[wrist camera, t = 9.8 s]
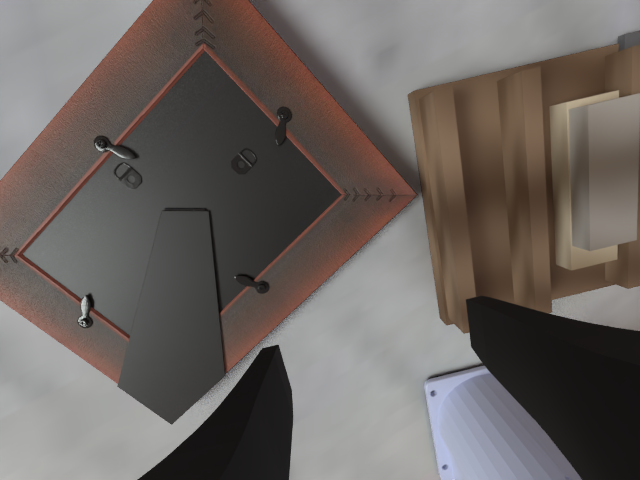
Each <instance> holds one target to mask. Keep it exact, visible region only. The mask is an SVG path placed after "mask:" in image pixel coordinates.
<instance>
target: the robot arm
mask: <svg viewBox="0 0 640 480" xmlns="http://www.w3.org/2000/svg"><path fill="white" fill-rule="evenodd" d="M466 306H467V315H468V323H469V331H470V340H471V347H472V348H473V350H474V351H475V353H476V354H477V356H478V357H479V359H480V360H481V361H482V363H483V364H484V365H485V366H480V367H476V368H472V369H468V370H464V371H460V372H456V373H452V374H448V375H444V376H440V377H435V378H431V379H428V380H427V381H426V382H425V383H424V388H425V394H426V400H427V406H428V412H429V418H430V424H431V430H432V436H433V442H434V448H435V453H436V459H437V465H438V471H439V475H440V477H441V479H442V480H454V479H455V480H640V331H634V330H627V329H621V328H614V327H609V326H603V325H598V324H592V323H587V322H582V321H578V320H573V319H569V318H565V317H561V316H556V315H552V314H549V313H545V312H541V311H537V310H534V309H530V308H527V307H523V306H520V305H516V304H513V303H509V302H506V301H502V300H499V299H495V298H491V297H486V296H478V297H474V298H469V299H466ZM433 390H435V391H434V392H432V393H430V392H431V391H433ZM292 428H293V403H292V390H291V386H290V383H289V379H288V376H287V372H286V369H285V366H284V362H283V359H282V355H281V352H280V349H279V345H275V346H271V347H267V348H262V350H261V351H260V352H259V354H258V355H257V357H256V358H255V359H254V361H253V362H252V364H251V365H250V367H249V368H248V369H247V371H246V372H245V374H244V375H243V376H242V378H241V379H240V380H239V382H238V383H237V384H236V386H235V387H234V388H233V389H232V391H231V392H230V393H229V394H228V396H227V397H226V398H225V399H224V401H223V402H222V403H221V404H220V405H219V407H218V408H217V409H216V410H215V411H214V412H213V413H212V414H211V415H210V417H209V418H208V419H207V420H206V421H205V422H204V423H203V424H202V425H201V426H200V427H199V428H198V429H197V430H196V431H195V432H194V433H193V434H192V435H190V436H189V437H188V438H187V439H186V440H185V441H184V442H183V443H182V444H180V445H179V446H178V447H177V448H176V449H175V450H174V451H173V452H172V453H171V454H169V455H168V456H167V457H166V458H165V459H163V460H162V461H161V462H160V463H158V464H157V465H156V466H155V467H154V468H152V469H151V470H150V471H148V472H147V473H146V474H144V475H143V476H142V477H141V478H139V479H138V480H289V470H290V456H291V442H292Z"/></svg>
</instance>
